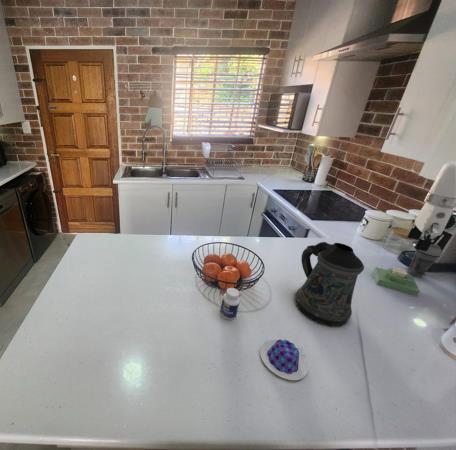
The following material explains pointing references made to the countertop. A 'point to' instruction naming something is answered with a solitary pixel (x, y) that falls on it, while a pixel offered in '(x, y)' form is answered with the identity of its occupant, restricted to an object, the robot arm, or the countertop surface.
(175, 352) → the countertop surface
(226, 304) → the pill bottle
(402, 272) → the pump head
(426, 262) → the beverage cup
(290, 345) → the pudding
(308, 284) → the beer stein
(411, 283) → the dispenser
